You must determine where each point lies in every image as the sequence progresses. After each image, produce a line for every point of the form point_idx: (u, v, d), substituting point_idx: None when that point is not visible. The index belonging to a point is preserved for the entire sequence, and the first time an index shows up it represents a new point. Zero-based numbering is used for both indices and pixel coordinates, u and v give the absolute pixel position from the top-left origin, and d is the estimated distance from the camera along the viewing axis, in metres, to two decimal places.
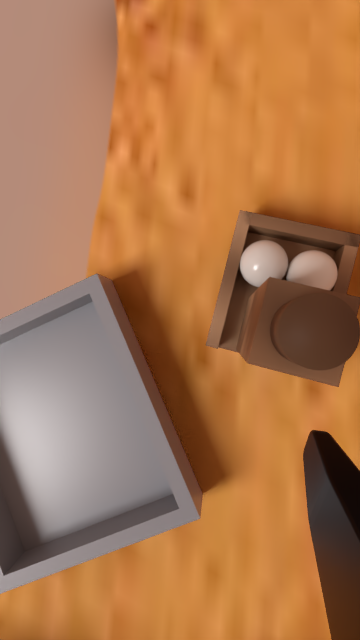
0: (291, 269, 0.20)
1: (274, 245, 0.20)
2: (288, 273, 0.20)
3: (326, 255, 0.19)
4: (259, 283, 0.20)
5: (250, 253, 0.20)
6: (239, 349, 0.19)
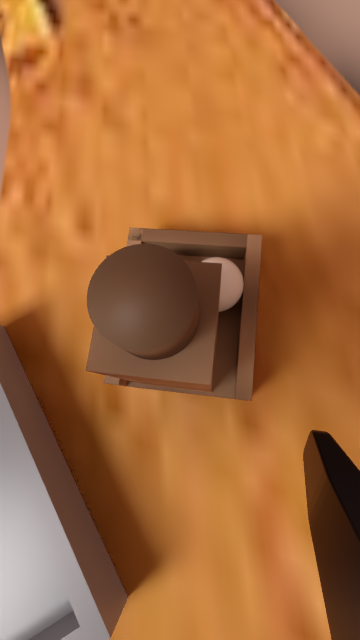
0: None
1: None
2: None
3: (226, 260, 0.17)
4: None
5: None
6: None
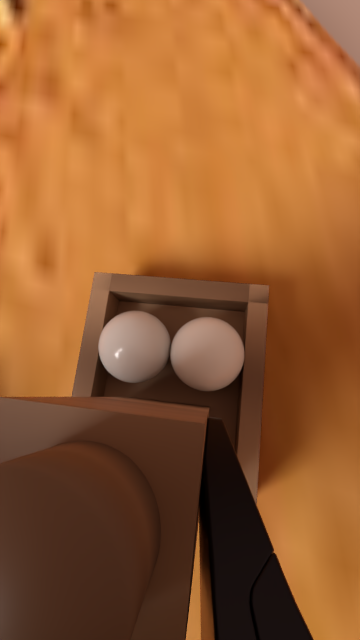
0: (174, 351, 0.13)
1: (136, 317, 0.13)
2: (171, 357, 0.13)
3: (221, 323, 0.12)
4: (124, 378, 0.13)
5: (102, 333, 0.13)
6: None
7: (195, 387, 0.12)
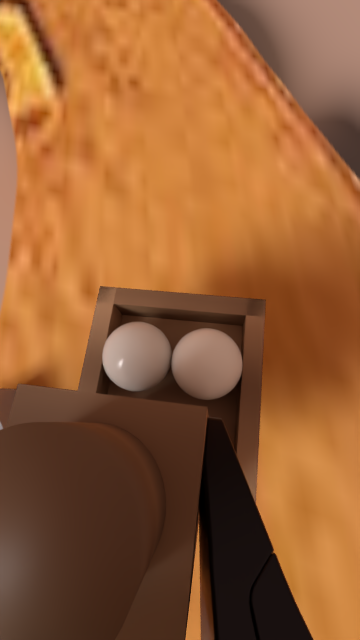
0: (175, 359, 0.13)
1: (139, 326, 0.13)
2: (172, 365, 0.13)
3: (220, 333, 0.13)
4: (127, 386, 0.13)
5: (107, 342, 0.13)
6: None
7: (195, 395, 0.13)
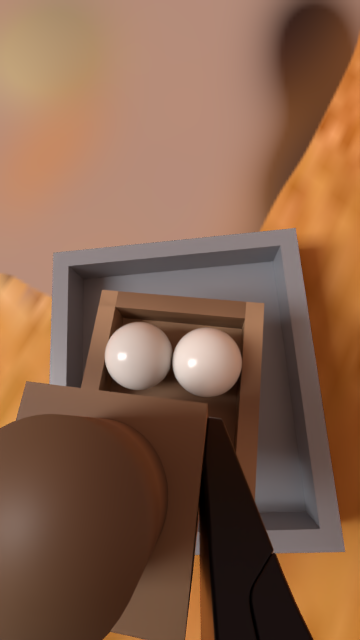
0: (176, 355, 0.13)
1: (141, 325, 0.14)
2: (173, 362, 0.14)
3: (220, 331, 0.14)
4: (128, 382, 0.13)
5: (109, 340, 0.14)
6: None
7: (196, 390, 0.13)
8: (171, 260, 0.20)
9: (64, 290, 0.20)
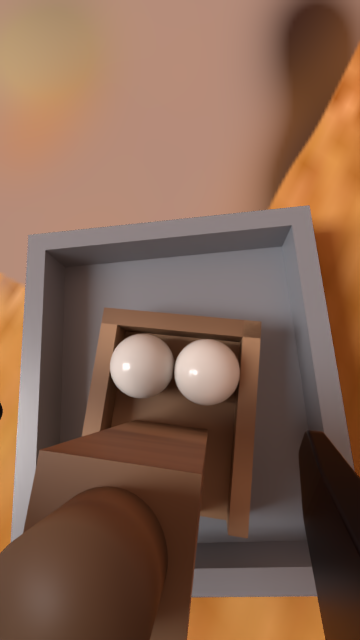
0: (178, 364, 0.14)
1: (146, 335, 0.15)
2: (175, 370, 0.14)
3: (219, 342, 0.15)
4: (132, 389, 0.14)
5: (115, 349, 0.15)
6: None
7: (196, 396, 0.14)
8: (164, 244, 0.17)
9: (40, 278, 0.17)
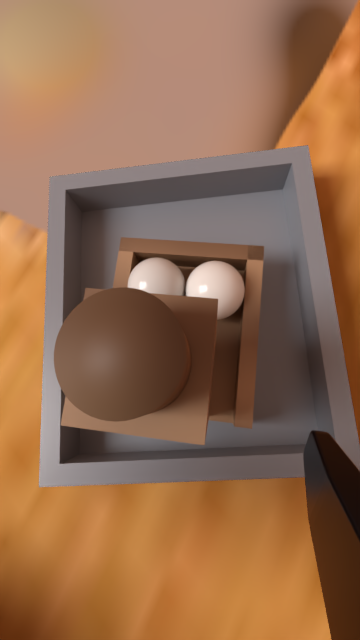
0: (189, 281, 0.16)
1: None
2: (187, 287, 0.16)
3: (226, 263, 0.16)
4: None
5: (133, 270, 0.16)
6: None
7: None
8: (175, 184, 0.19)
9: (61, 214, 0.19)
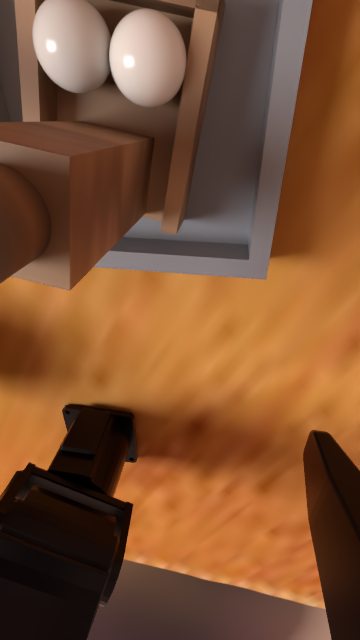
0: (111, 46, 0.12)
1: None
2: (109, 56, 0.12)
3: (163, 15, 0.11)
4: (61, 79, 0.12)
5: None
6: None
7: (131, 94, 0.12)
8: None
9: None
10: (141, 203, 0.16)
